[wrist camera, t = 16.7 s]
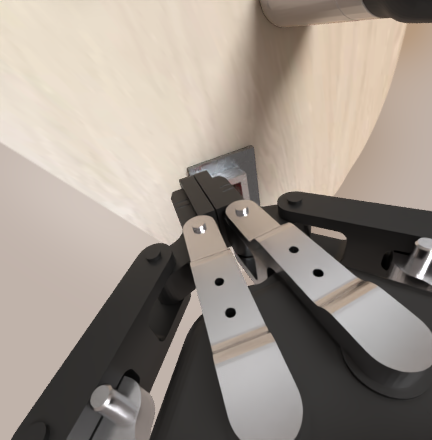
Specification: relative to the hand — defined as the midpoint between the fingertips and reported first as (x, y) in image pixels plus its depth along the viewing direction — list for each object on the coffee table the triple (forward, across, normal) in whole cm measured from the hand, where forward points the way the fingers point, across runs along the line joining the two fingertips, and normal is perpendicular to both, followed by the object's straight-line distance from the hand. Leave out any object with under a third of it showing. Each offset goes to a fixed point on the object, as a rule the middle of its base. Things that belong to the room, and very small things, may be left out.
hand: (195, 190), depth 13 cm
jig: (+29, -10, +19) cm, 36 cm away
